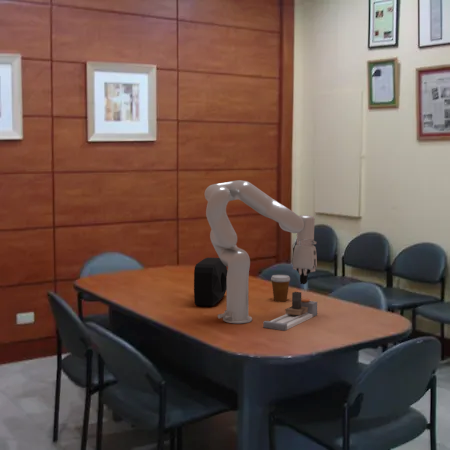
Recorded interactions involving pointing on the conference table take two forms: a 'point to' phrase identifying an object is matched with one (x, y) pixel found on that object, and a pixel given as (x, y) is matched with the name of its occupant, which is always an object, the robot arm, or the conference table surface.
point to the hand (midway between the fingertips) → (303, 283)
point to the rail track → (292, 318)
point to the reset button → (305, 300)
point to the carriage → (296, 305)
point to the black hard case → (209, 281)
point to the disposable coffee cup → (280, 287)
